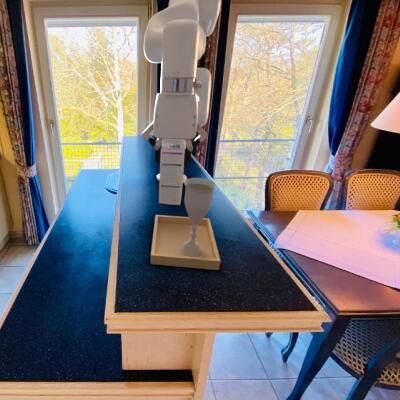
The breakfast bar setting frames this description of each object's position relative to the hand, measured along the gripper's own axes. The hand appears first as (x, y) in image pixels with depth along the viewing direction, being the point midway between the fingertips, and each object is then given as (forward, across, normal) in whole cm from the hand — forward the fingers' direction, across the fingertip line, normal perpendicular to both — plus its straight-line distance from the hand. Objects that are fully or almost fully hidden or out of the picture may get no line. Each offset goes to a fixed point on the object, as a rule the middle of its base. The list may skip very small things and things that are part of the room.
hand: (172, 164), depth 66 cm
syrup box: (+10, 0, 0) cm, 10 cm away
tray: (+20, -4, +5) cm, 21 cm away
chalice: (+20, -6, +9) cm, 22 cm away
